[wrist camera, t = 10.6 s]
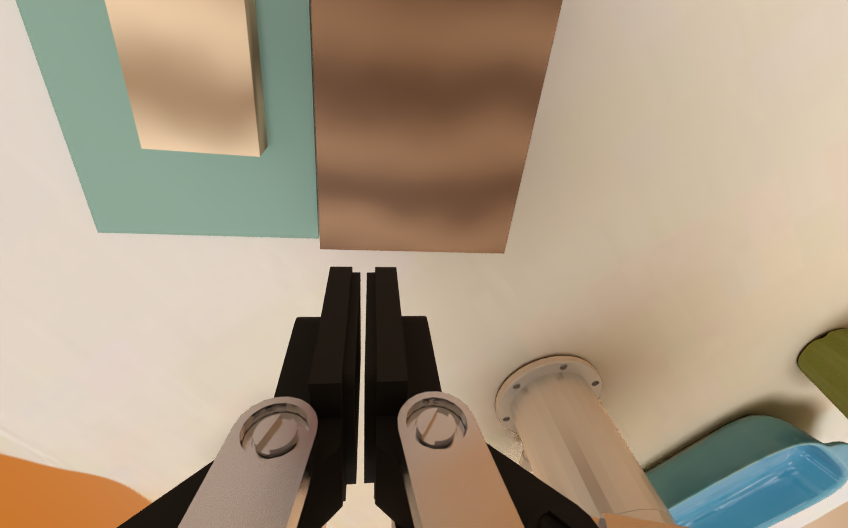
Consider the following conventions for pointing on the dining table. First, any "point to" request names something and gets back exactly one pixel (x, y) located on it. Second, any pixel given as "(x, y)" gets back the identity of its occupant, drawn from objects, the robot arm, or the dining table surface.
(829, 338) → the plant pot
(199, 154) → the teal mat
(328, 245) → the walnut deck
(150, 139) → the ash tile
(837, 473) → the casserole dish
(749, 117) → the dining table surface
